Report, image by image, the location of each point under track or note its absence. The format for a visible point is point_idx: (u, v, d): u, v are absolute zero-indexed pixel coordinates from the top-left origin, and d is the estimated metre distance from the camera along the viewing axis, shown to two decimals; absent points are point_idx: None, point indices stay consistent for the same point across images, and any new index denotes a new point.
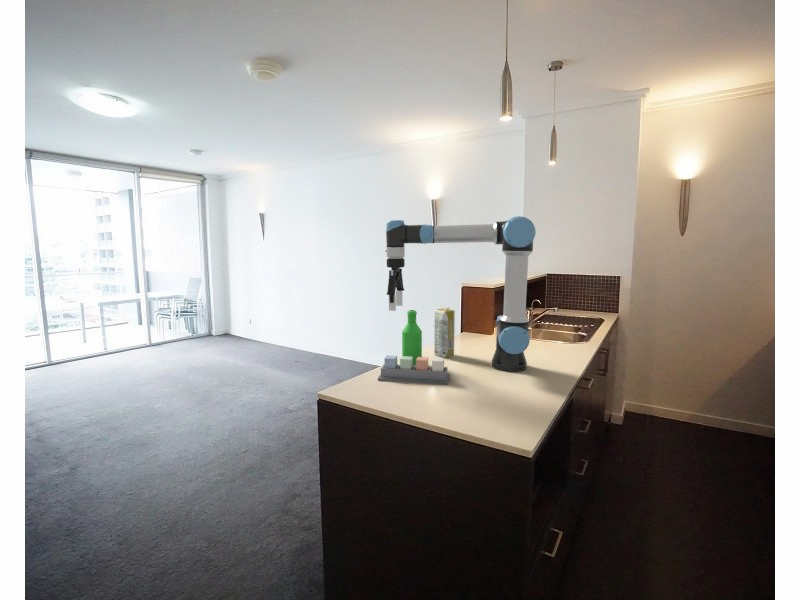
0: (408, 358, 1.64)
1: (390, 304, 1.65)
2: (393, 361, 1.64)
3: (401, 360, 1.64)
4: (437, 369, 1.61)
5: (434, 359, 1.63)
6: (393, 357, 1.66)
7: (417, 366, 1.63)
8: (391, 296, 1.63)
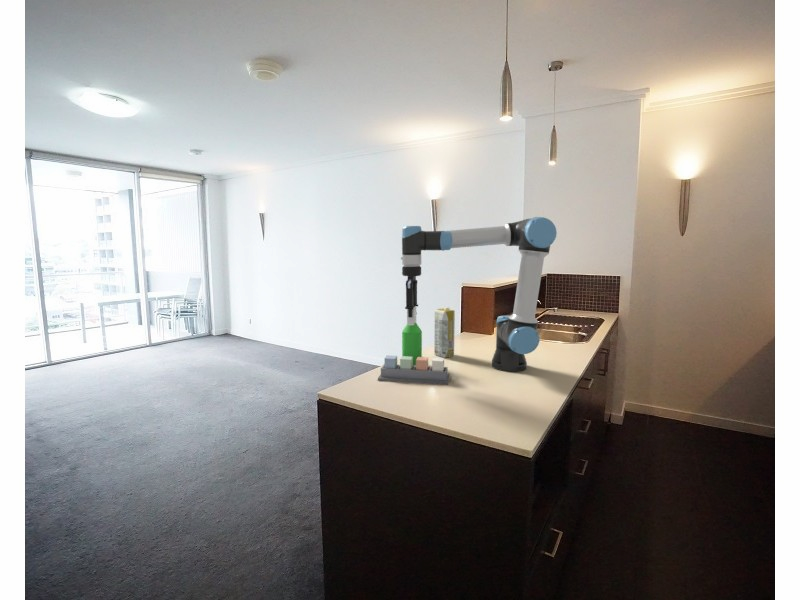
0: (408, 358, 1.64)
1: (408, 318, 1.60)
2: (393, 361, 1.64)
3: (401, 360, 1.64)
4: (437, 369, 1.61)
5: (434, 359, 1.63)
6: (393, 357, 1.66)
7: (417, 366, 1.63)
8: (410, 310, 1.58)
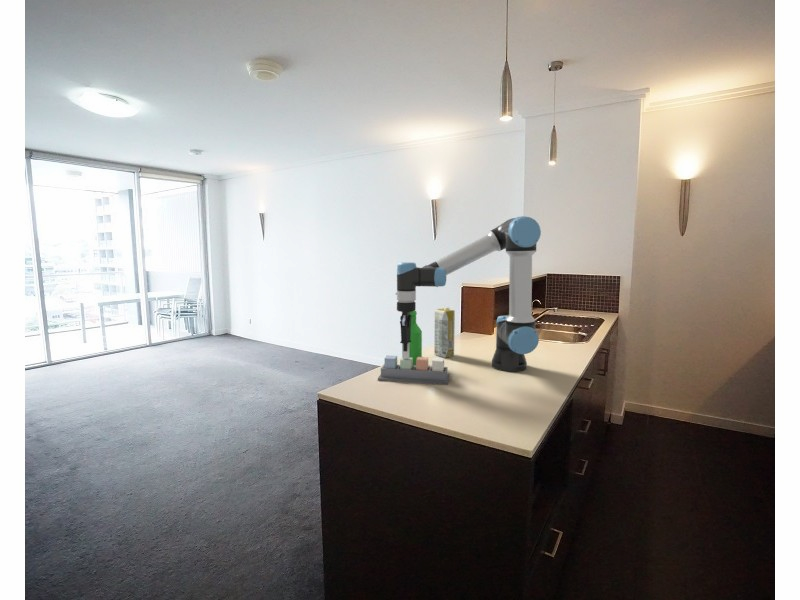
0: (408, 359, 1.64)
1: (403, 352, 1.64)
2: (393, 361, 1.64)
3: (401, 361, 1.64)
4: (437, 369, 1.61)
5: (434, 359, 1.63)
6: (393, 357, 1.66)
7: (417, 366, 1.63)
8: (405, 345, 1.63)
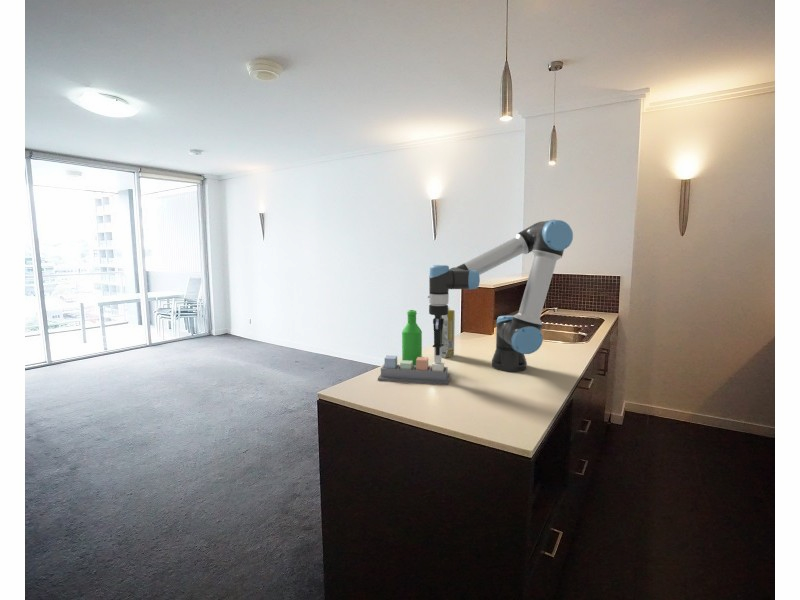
0: (408, 362, 1.65)
1: (436, 356, 1.62)
2: (393, 361, 1.64)
3: (401, 364, 1.64)
4: None
5: None
6: (393, 357, 1.66)
7: (417, 366, 1.63)
8: (437, 349, 1.60)
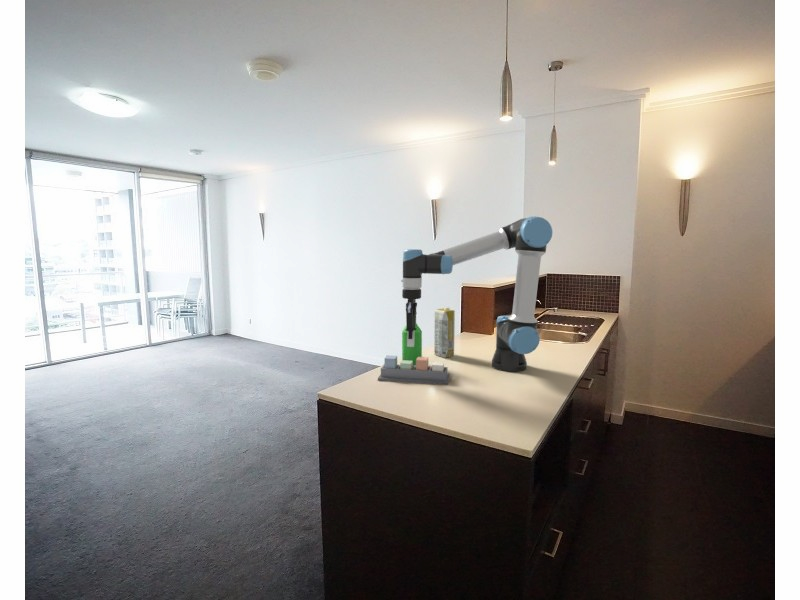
0: (408, 362, 1.65)
1: (408, 340, 1.63)
2: (393, 361, 1.64)
3: (401, 364, 1.64)
4: None
5: (434, 363, 1.63)
6: (393, 357, 1.66)
7: (417, 366, 1.63)
8: (410, 332, 1.61)
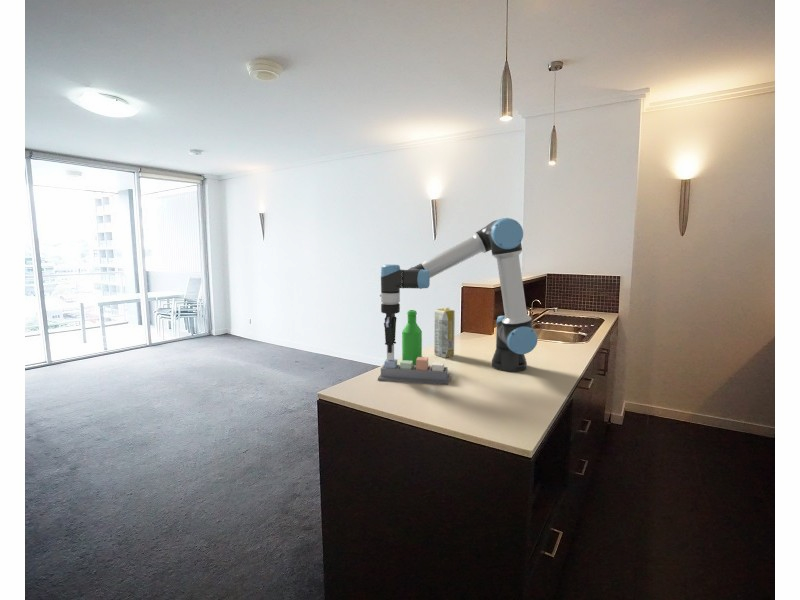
0: (408, 362, 1.65)
1: (388, 354, 1.66)
2: (393, 364, 1.64)
3: (401, 364, 1.64)
4: None
5: (434, 363, 1.63)
6: (393, 360, 1.66)
7: (417, 366, 1.63)
8: (389, 346, 1.64)
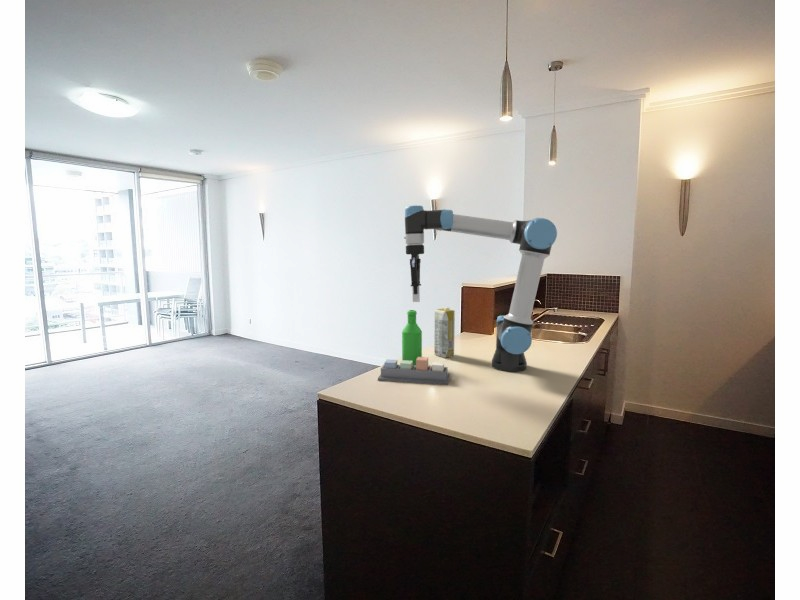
0: (408, 362, 1.65)
1: (414, 295, 1.68)
2: (393, 365, 1.64)
3: (401, 364, 1.64)
4: None
5: (434, 363, 1.63)
6: (393, 361, 1.66)
7: (417, 366, 1.63)
8: (415, 287, 1.66)
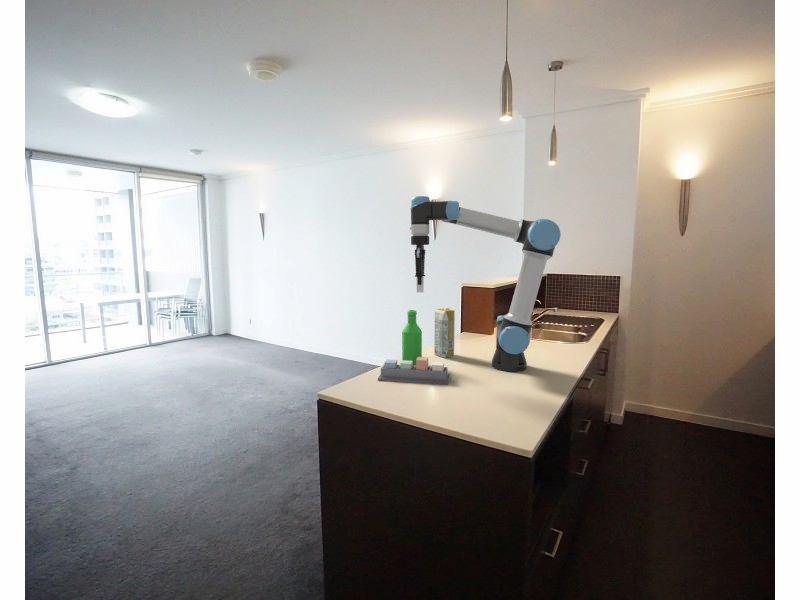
0: (408, 362, 1.65)
1: (418, 286, 1.69)
2: (393, 365, 1.64)
3: (401, 364, 1.64)
4: None
5: (434, 363, 1.63)
6: (393, 361, 1.66)
7: (417, 366, 1.63)
8: (419, 278, 1.67)
